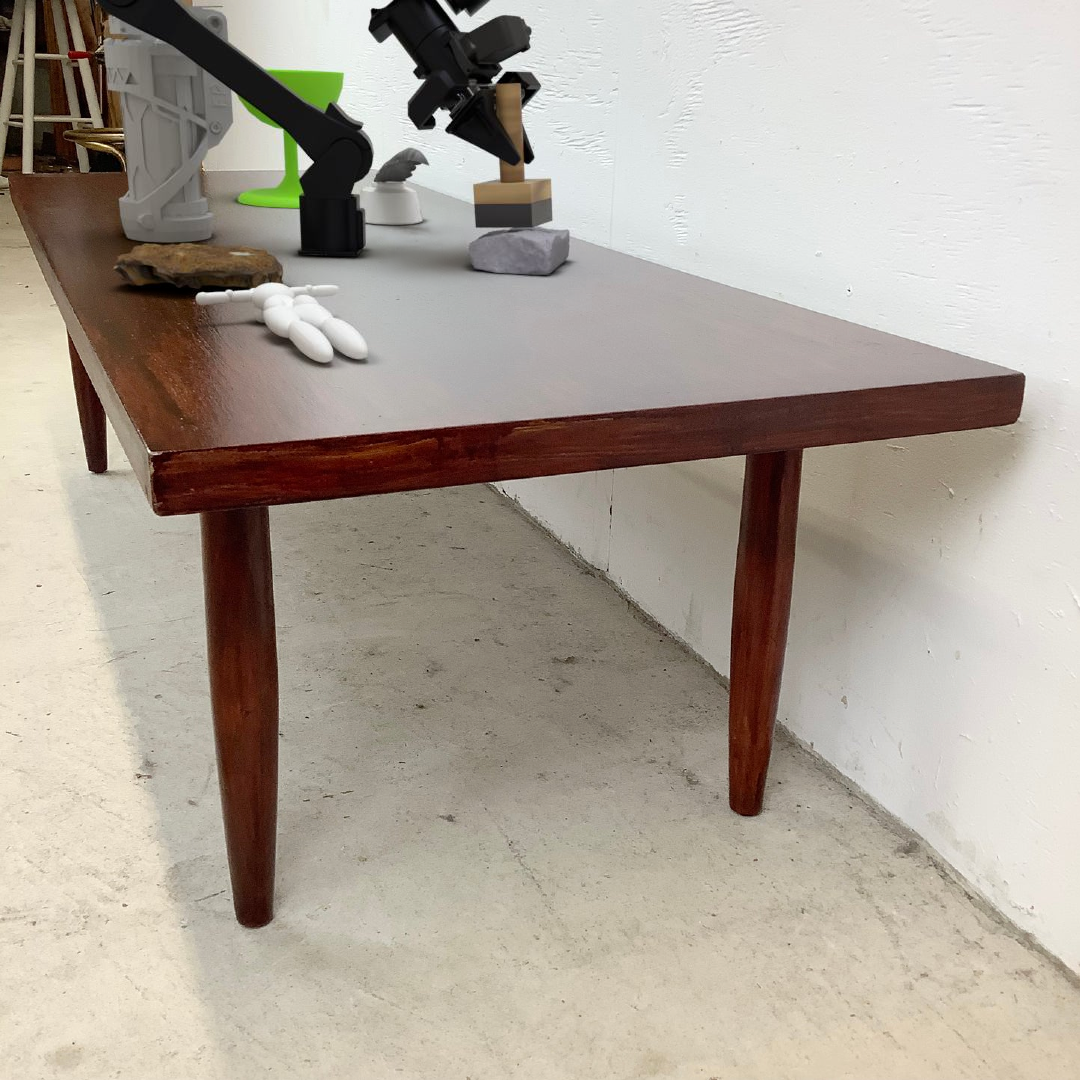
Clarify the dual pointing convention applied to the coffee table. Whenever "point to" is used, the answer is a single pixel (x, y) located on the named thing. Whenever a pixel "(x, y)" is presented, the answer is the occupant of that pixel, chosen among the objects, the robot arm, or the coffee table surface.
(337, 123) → the robot arm
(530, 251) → the stone block
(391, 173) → the inkwell
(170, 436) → the coffee table surface
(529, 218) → the rubber stamp
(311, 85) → the wineglass
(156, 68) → the grey mechanical model
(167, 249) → the decorative rock
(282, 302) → the decorative figure
